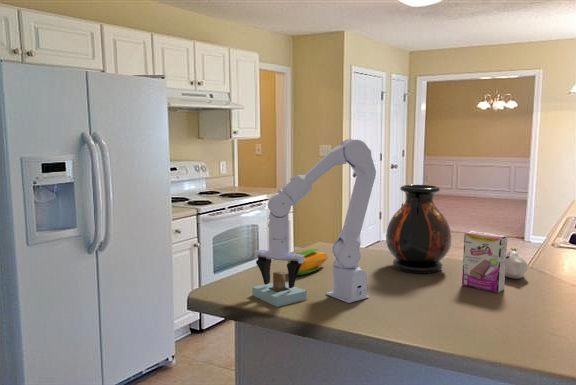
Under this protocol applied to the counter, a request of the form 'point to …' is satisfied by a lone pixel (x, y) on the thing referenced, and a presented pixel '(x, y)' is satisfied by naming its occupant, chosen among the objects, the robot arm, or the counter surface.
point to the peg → (278, 281)
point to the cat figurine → (515, 265)
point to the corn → (311, 261)
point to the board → (279, 294)
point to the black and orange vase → (418, 232)
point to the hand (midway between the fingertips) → (279, 285)
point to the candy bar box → (484, 261)
